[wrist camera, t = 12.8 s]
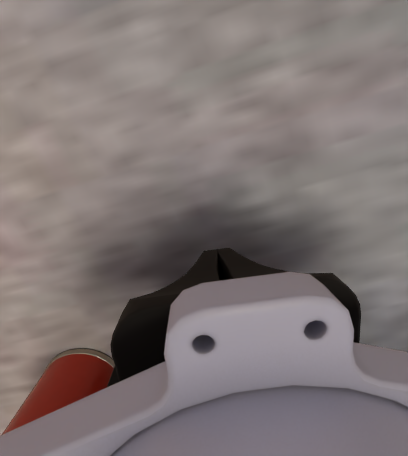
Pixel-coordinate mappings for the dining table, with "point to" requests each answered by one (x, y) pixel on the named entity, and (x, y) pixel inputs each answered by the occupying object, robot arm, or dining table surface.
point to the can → (65, 384)
